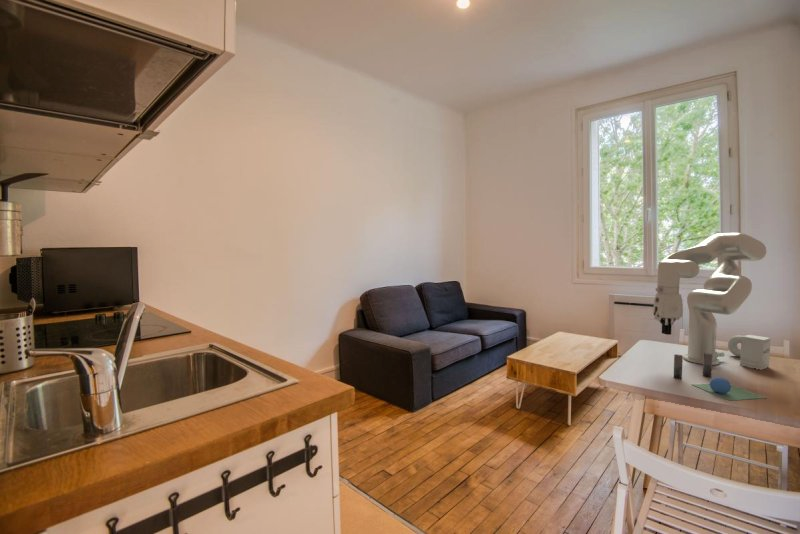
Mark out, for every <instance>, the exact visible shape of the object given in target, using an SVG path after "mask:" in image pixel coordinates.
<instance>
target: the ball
mask: <svg viewBox="0 0 800 534" xmlns="http://www.w3.org/2000/svg"><path fill="white" fill-rule="evenodd" d="M709 384H710V387H711V389H712V390H713V391H715V392H716V393H719V394H725V393H728V392H729V391H730V389H731V385H732V384H731V383H730V381H728V379H726V378H725V377H722V376H721V377H720V376H716V377H712V379H710V381H709ZM730 384H731V385H730Z"/></svg>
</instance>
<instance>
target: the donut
mask: <svg viewBox="0 0 800 534" xmlns="http://www.w3.org/2000/svg"><path fill="white" fill-rule="evenodd" d="M742 336H743V335H733V336H731V337H730V338H729V340H728V341H727V349H728V350H729V352H730V353H731V354H732V355H734V356H736V357H737V358H740V354H741V348H739V346H738V345H739V344H741V337H742Z"/></svg>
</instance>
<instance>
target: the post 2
mask: <svg viewBox="0 0 800 534" xmlns="http://www.w3.org/2000/svg"><path fill="white" fill-rule="evenodd" d="M712 367H713V365H712V354H709V353H704V358H703V364H702V377H703V378H707V379H711V378H712V369H713V368H712Z"/></svg>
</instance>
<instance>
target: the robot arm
mask: <svg viewBox="0 0 800 534" xmlns="http://www.w3.org/2000/svg"><path fill="white" fill-rule="evenodd" d="M766 254H767V247H766V245H765V244H764V243H763V242H762V241H761V240H758V238H757V239H756V238H755V237H752V236H751V235H748V234H746V233H742V232H720V233H715V234H713V235H711V236H709V237H707V238H706V239H704V240H702V242H699V244H697V245H695V246H693V247H688V248H686V249H683V250H680V251H679V250H678V251H676V252H673V253H671V254H670V255H668V256H666V257H665V258H663V259H662V260H660V261H659V262H658V264H657V283H656V285H657V286H656V288H655V292H656V293H655V297H654V302H653V307H652V308H653V309H652V311H653V316H654V319H653V320H655V321H658V322H659V323H660V324H661V334H664V335H667V336H669V335H672V326H673V325H674V323H675V321H679V320H680V318H682V317H683V312H684V311H683V299H682V294H680V279H692V278H695V277H697V276H698V275H699V273H700V266H699V265H705V264H709V263H711V262H713V261H714V260H716V259H717V267H716V269H715V270H714V271H713V272H712V273H711V274H710V275H709V276H708V278H707V279H706V280H705V282H703V289H702V288H700V289H699V288H698V289H694V290H691V291H690V292H689V293H688V294H687V298H686V302H687V306H688V336H687V339H688V340H687V342H688V343H687V354H683V355H682V356H683V360H685V361H688V362H691V363H694V364H701V365H703V358H704V353H709V354H712V366H714V365H715V366H716V365H719V364H720V363H721V361H720V359H718V357H722V358H723V357H725V356H726V355H725V352H723V351H716V347H717V328H718V327H717V326H718V323H717V319H716V317H715V315H714V314H718V315H719V314H720V315H725V316H728V315H732V314H734V313H736V312H737V310H738V309H739V308H740V307H741V306H742V304H744V303H745V301H746V300H747V298H748V297H750V295H751V292H752V290H753V289H752V288H753V285H752V282H751V280H750V278H748V277H746V276H744V275H741V269H740V267H739V266H738V265H737V263H736V262H735V261H743V262H744V261H746V262H748V261H749V262H757V261H760V260H762V259H764V258H765V257H766Z"/></svg>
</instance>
